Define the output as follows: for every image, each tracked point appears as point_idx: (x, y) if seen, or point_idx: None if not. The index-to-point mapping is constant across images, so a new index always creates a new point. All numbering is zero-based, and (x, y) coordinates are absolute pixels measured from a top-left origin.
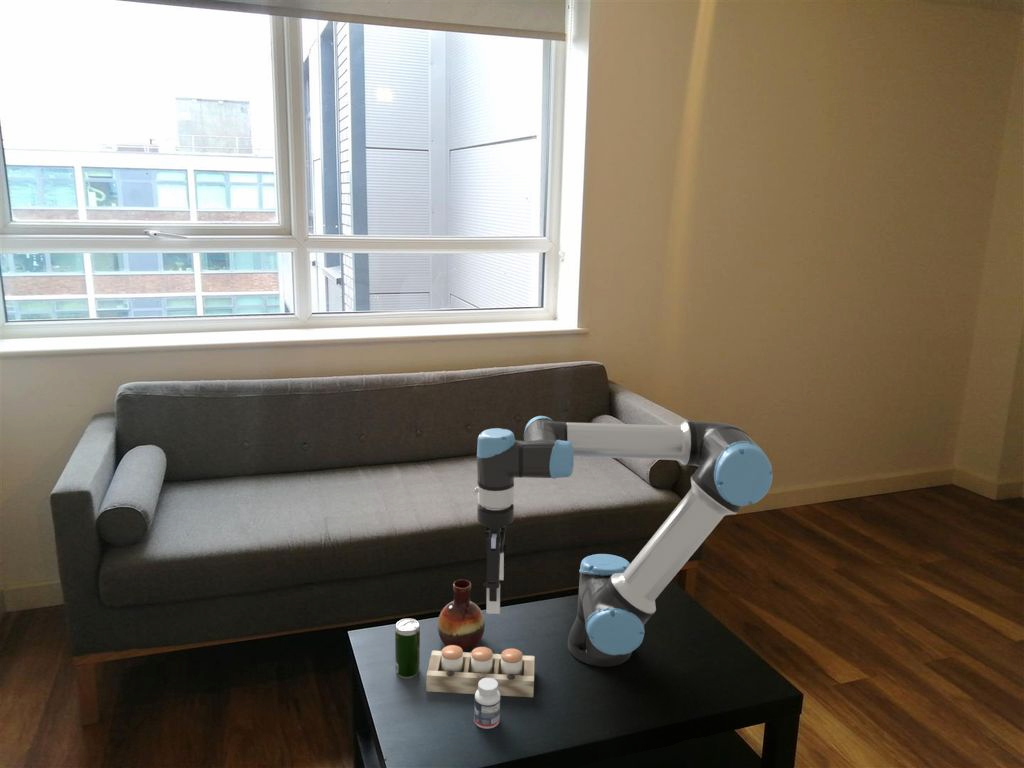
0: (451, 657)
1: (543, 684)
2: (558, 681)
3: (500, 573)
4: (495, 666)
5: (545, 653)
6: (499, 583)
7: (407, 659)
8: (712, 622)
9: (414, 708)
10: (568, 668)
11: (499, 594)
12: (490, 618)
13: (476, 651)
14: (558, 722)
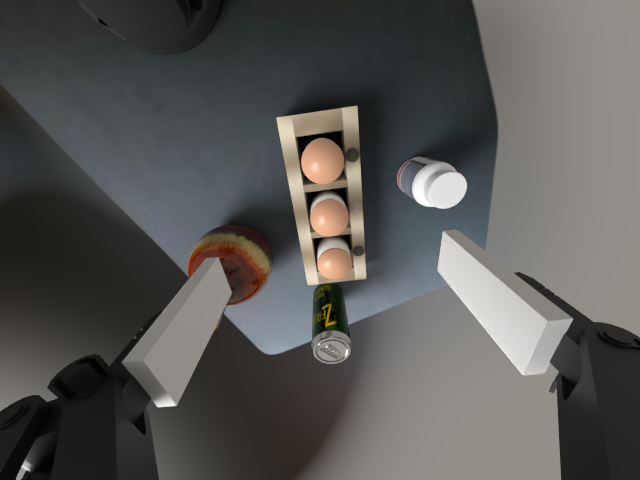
0: (351, 262)
1: (313, 93)
2: (297, 62)
3: (211, 283)
4: (326, 188)
5: (219, 103)
6: (631, 340)
7: (345, 309)
8: None
9: (395, 269)
10: (250, 43)
11: (518, 278)
12: (162, 220)
13: (327, 229)
14: (414, 46)
